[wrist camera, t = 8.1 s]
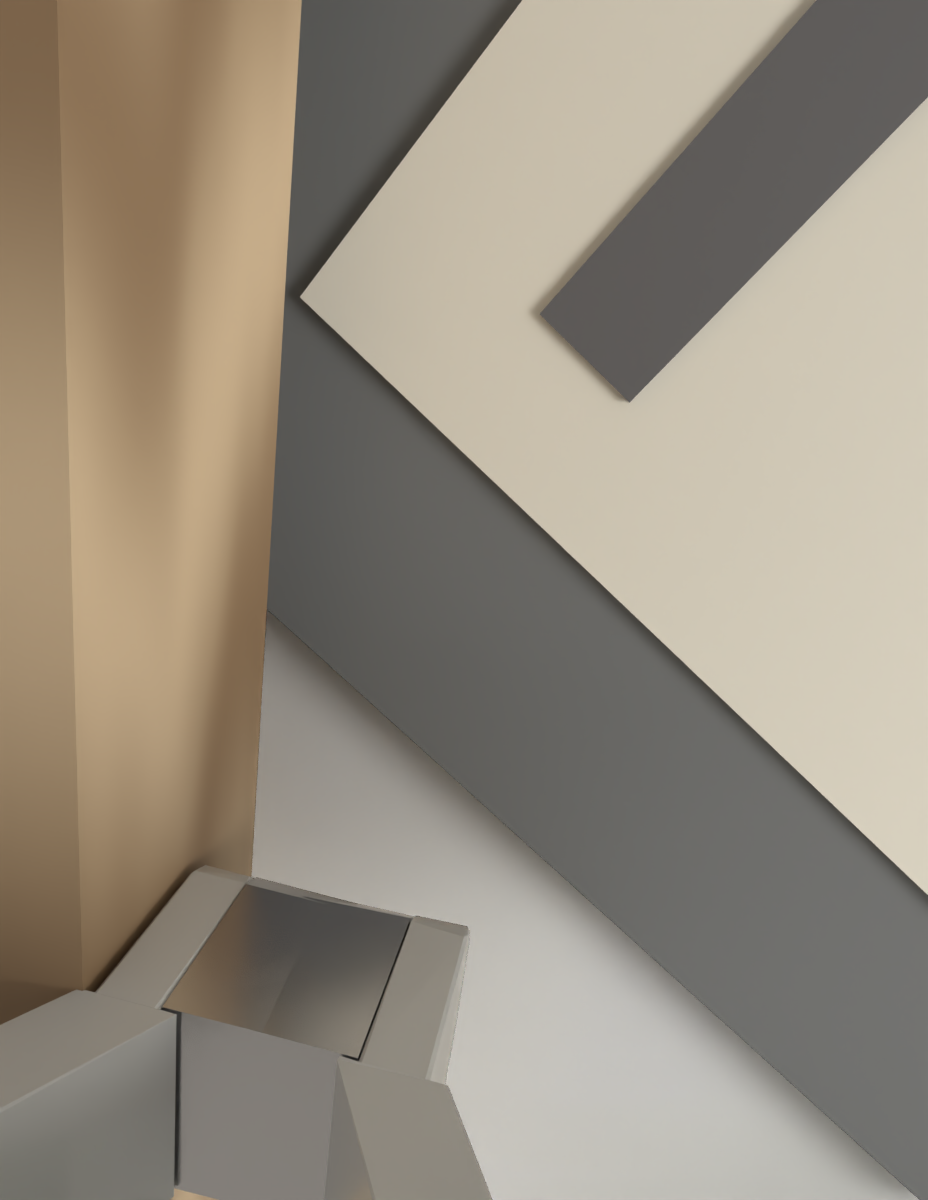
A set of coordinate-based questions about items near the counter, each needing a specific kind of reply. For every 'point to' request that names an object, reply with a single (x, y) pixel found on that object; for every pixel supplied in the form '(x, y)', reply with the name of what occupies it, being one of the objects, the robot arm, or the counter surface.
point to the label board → (640, 475)
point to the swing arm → (133, 459)
